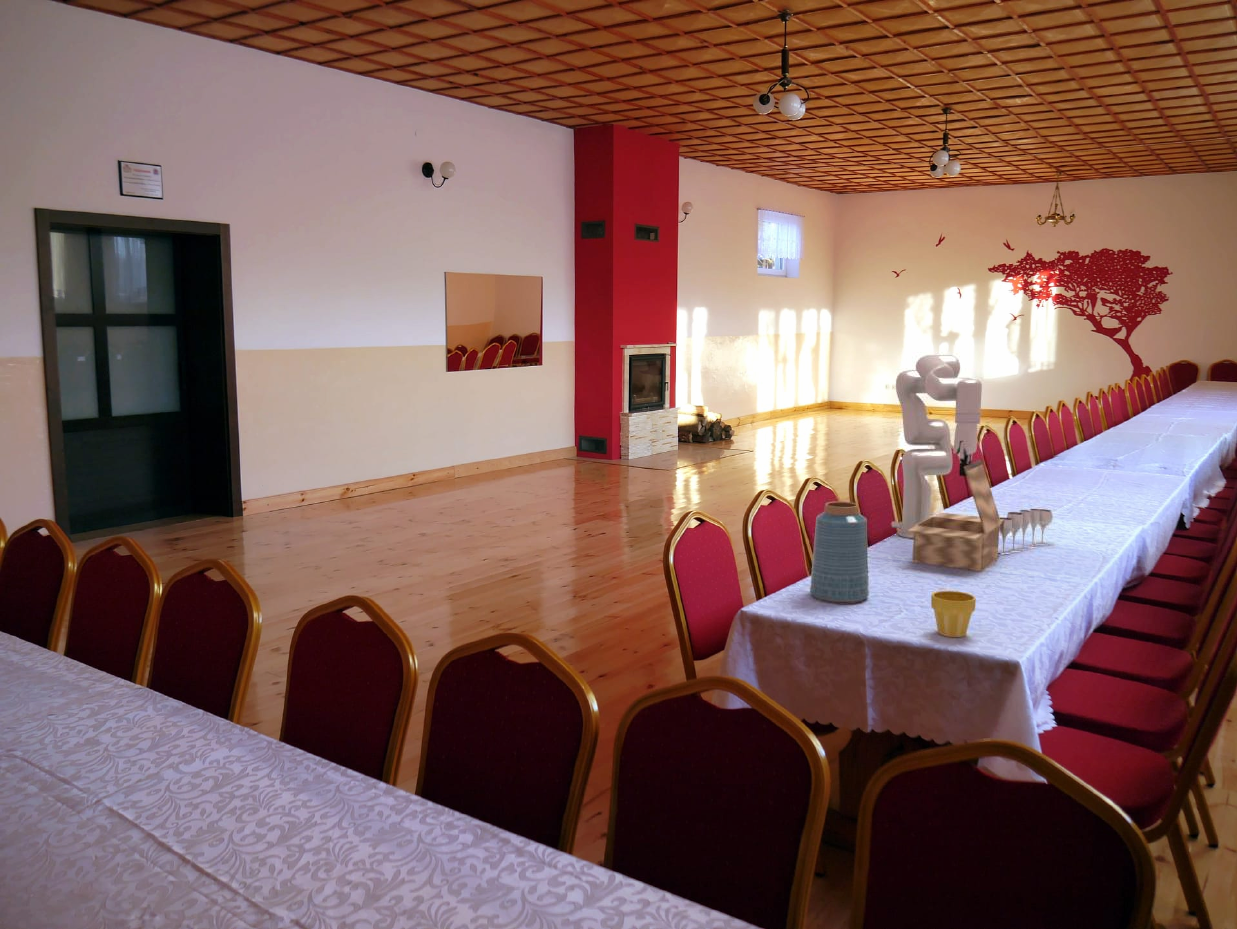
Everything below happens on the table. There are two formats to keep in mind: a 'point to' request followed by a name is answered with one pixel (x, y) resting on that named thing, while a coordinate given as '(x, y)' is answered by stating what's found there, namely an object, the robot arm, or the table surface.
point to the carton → (955, 542)
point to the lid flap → (982, 496)
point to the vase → (840, 555)
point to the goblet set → (1024, 524)
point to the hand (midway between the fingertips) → (965, 475)
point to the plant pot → (952, 612)
